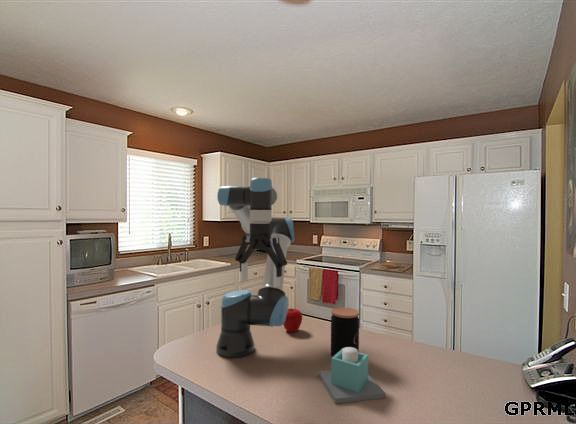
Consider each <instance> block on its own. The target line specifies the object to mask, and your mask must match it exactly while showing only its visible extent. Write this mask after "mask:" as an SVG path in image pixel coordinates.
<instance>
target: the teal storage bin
mask: <svg viewBox="0 0 576 424" xmlns="http://www.w3.org/2000/svg"><path fill="white" fill-rule="evenodd" d="M342 349H343V348H342ZM342 349H341V350H340V351H339V352H338V353H337V354H336V355H335V356H333V357H332V356H331V358H330V359H331V362H330V363H331V365H330V369H331V384H334V385H337V386H340V387H343V388H346V389H349V390H352V391H355V392H359V391H360V390H361V388H362V387H363V386H364V384H365V383H366V382H367V380H368V374H369V354H367V353H362V352H360V351H359V352H358V363H357V364H355V363H352V362H348V361H345V360H342Z"/></svg>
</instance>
